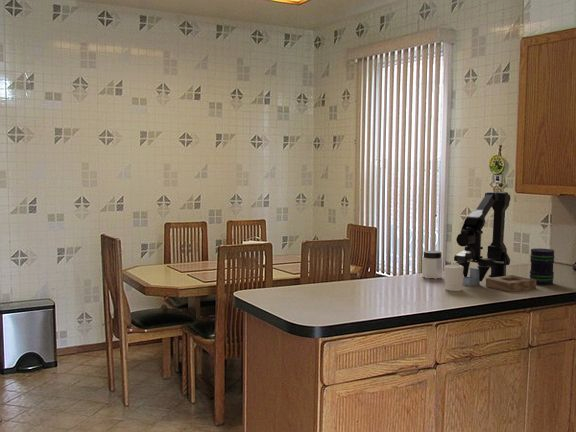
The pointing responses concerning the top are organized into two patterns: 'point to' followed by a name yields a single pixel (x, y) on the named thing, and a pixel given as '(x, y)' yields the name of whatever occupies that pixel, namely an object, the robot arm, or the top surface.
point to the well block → (511, 283)
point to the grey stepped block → (472, 277)
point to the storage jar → (542, 266)
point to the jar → (432, 264)
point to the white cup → (453, 277)
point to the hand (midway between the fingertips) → (473, 279)
